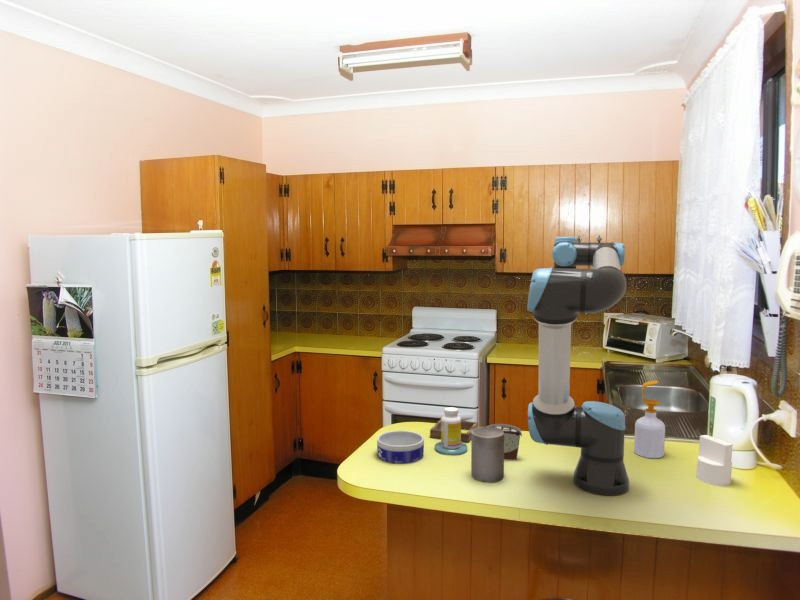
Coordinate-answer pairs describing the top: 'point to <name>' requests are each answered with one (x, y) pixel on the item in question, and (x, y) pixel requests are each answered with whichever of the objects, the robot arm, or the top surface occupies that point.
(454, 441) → the supplement bottle
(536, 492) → the top surface
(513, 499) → the top surface
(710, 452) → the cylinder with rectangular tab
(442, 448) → the coaster
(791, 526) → the top surface
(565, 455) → the top surface
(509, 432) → the food container
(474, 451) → the pillar candle
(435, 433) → the square frame
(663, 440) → the soap bottle
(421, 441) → the dog bowl
